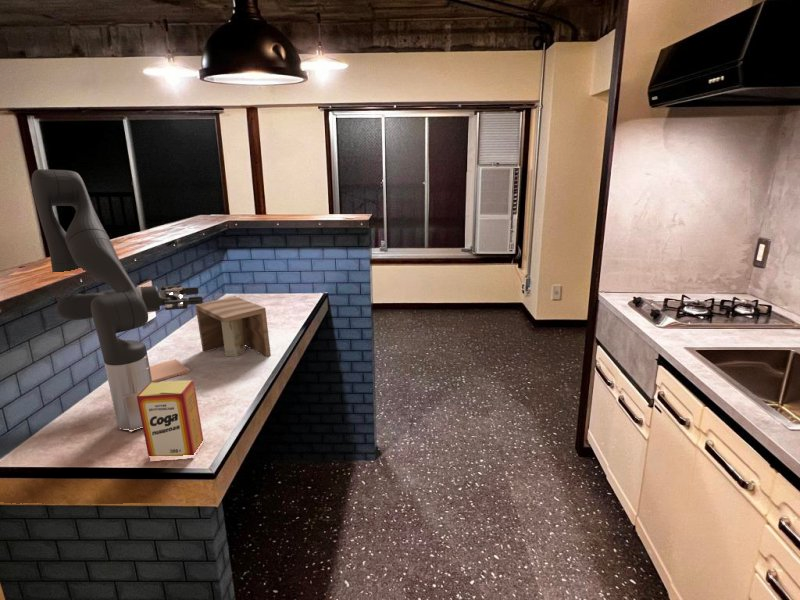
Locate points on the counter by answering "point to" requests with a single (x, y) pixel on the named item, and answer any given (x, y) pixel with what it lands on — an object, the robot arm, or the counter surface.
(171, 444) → the baking soda box
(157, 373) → the terracotta tile
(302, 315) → the counter surface
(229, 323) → the skincare box
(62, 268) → the robot arm
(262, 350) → the walnut shelf
